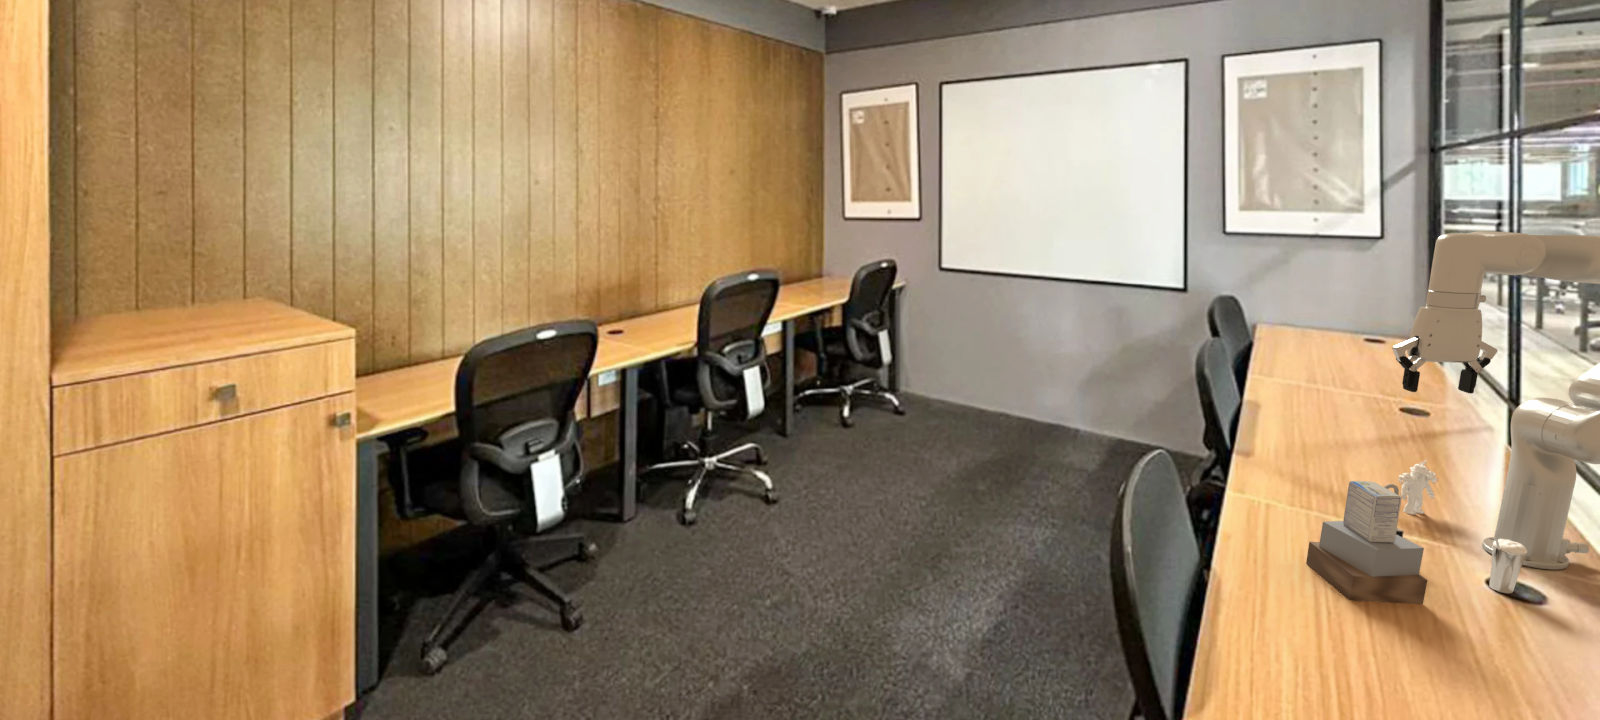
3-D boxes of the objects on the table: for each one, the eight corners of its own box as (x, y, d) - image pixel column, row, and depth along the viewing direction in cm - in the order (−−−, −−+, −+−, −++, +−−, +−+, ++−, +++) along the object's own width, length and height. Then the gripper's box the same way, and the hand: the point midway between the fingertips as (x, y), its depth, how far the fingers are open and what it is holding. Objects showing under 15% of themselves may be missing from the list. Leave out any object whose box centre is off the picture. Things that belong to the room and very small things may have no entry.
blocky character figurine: (1420, 507, 178) (1429, 457, 176) (1437, 513, 175) (1447, 462, 172) (1388, 510, 176) (1397, 459, 174) (1404, 516, 173) (1414, 465, 170)
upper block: (1362, 544, 148) (1366, 520, 147) (1418, 574, 136) (1423, 547, 135) (1318, 546, 147) (1322, 521, 146) (1371, 576, 135) (1376, 549, 134)
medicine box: (1395, 543, 136) (1403, 496, 135) (1368, 542, 137) (1376, 495, 135) (1367, 525, 144) (1374, 480, 142) (1341, 524, 144) (1348, 479, 143)
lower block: (1372, 569, 149) (1376, 544, 148) (1422, 606, 135) (1427, 579, 134) (1305, 565, 150) (1309, 541, 149) (1349, 602, 136) (1353, 576, 135)
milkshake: (1473, 583, 142) (1483, 532, 140) (1500, 582, 143) (1511, 531, 141) (1497, 596, 138) (1508, 543, 136) (1525, 595, 139) (1536, 542, 136)
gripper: (1488, 299, 147) (1473, 387, 151) (1389, 298, 149) (1376, 385, 153) (1519, 304, 140) (1502, 397, 143) (1414, 303, 142) (1400, 394, 145)
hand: (1437, 391), depth 148 cm, fingers open, 9 cm apart
